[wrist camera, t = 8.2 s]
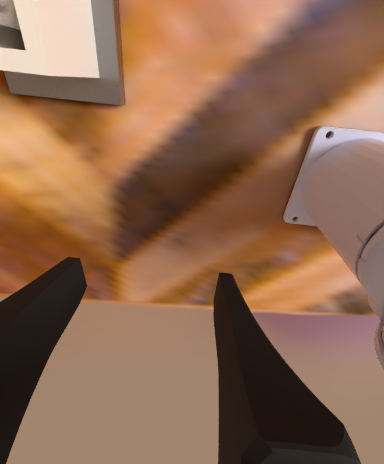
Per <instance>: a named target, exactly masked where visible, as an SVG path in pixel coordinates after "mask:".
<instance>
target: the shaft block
mask: <svg viewBox="0 0 384 464" xmlns="http://www.w3.org/2000/svg"><path fill="white" fill-rule="evenodd" d="M91 7H92V16H93V25H94V34H95V43H96V52H97V61H98V70H99V78H89V77H65V76H47V75H38V74H30V73H21V72H12V71H4V74H5V77H6V80H7V83H8V87H9V90H10V93H12V94H22V95H31V96H40V97H49V98H59V99H68V100H77V101H86V102H96V103H105V104H114V105H124V104H125V91H124V76H123V61H122V46H121V31H120V16H119V1H118V0H91ZM0 25H4V26H7V27H11V28H14V29H18V30H21V29H20V25H19V21H18V17H17V13H16V9H15V5H14V1H13V0H0Z"/></svg>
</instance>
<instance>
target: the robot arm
mask: <svg viewBox="0 0 384 464" xmlns="http://www.w3.org/2000/svg"><path fill="white" fill-rule="evenodd" d="M329 131H331V135H330V136H329V137H328V138H326V134H327V133H328V132H329ZM294 217H297V218H296V219H293V218H294ZM283 220H284V221H285V222H286V223H291V224H301V225H311V226H317V227H318V228H319V230H320V231H321V232H322V233H323V235H324V236H325V237H326V239H327V240H328V241H329V243H330V244H331V245H332V246H333V248H334V249H335V250H336V252H337V253H338V254H339V256H340V257H341V258H342V259H343V261H344V262H345V263H346V265H347V266H348V267H349V268H350V270H351V271H352V272H353V274H354V275H355V276H356V278H357V279H358V280H359V281H360V283H361V284H362V286H363V287H364V288H365V290H366V291H367V292H368V294H369V299H368V304H369V305H370V306H371V308H372V309H373V310H374V312H375V313H376V314H377V316H378V317H379V319H380V320H381V322H380V323H379V325H378V327H377V329H376V331H375V338H374V341H375V350H376V353H377V356H378V359H379V361H380V363H381V365H382V367H383V369H384V132H375V131H366V130H357V129H348V128H339V127H329V126H320V127H318V128H317V129H316V130H315V132H314V134H313V137H312V139H311V142H310V145H309V147H308V150H307V153H306V156H305V158H304V161H303V164H302V166H301V169H300V172H299V175H298V177H297V180H296V183H295V185H294V188H293V191H292V194H291V196H290V199H289V202H288V204H287V207H286V210H285V213H284V215H283ZM86 287H87V284H86V280H85V276H84V272H83V268H82V264H81V260H80V258H72V257H68V258H66V259H64V260H63V261H61V262H60V263H59V264H57V265H56V266H54V267H53V268H51V269H50V270H49V271H47V272H46V273H44V274H43V275H41V276H40V277H38V278H37V279H35V280H34V281H32V282H31V283H29V284H28V285H26V286H25V287H23V288H22V289H20V290H19V291H17V292H15V293H14V294H12V295H11V296H9V297H7V298H6V299H4V300H3V301H1V302H0V464H6V462H7V459H8V456H9V453H10V451H11V448H12V445H13V442H14V440H15V437H16V435H17V432H18V429H19V426H20V424H21V421H22V419H23V416H24V414H25V411H26V409H27V406H28V404H29V402H30V399H31V396H32V394H33V392H34V390H35V388H36V385H37V383H38V381H39V378H40V376H41V374H42V372H43V370H44V367H45V365H46V363H47V361H48V359H49V357H50V355H51V353H52V351H53V349H54V347H55V345H56V343H57V342H58V340H59V339H60V337H61V335H62V333H63V332H64V330H65V328H66V326H67V325H68V323H69V321H70V320H71V318H72V316H73V314H74V313H75V311H76V309H77V307H78V306H79V304H80V302H81V299H82V297H83V295H84V292H85V290H86ZM214 327H215V337H216V347H217V357H218V369H219V370H218V371H219V454H218V455H219V456H218V458H219V459H218V464H361V462H360V460H359V458H358V455H357V453H356V450H355V448H354V445H353V443H352V441H351V439H350V437H349V435H348V433H347V431H346V429H345V427H344V425H343V423H342V422H341V421H340V420H339V419H338V418H337V417H336V416H334V414H332V412H331V411H329V409H328V408H327V407H325V405H324V404H323V403H321V401H320V400H319V399H318V398H317V397H316V396H315V395H314V394H313V393H312V392H311V391H310V390H309V389H308V387H307V386H306V385H305V384H304V383H303V382H302V381H301V380H300V378H299V377H298V376H297V375H296V374H295V373H294V371H293V370H292V369H291V368H290V367H289V366H288V364H287V363H286V362H285V361H284V359H283V358H282V357H281V356H280V354H279V353H278V352H277V350H276V349H275V348H274V346H273V345H272V344H271V342H270V341H269V340H268V338H267V337H266V335H265V334H264V332H263V331H262V329H261V328H260V326H259V324H258V323H257V321H256V320H255V318H254V316H253V315H252V313H251V311H250V309H249V308H248V306H247V304H246V302H245V300H244V298H243V296H242V294H241V292H240V290H239V288H238V286H237V284H236V282H235V279H234V277H233V275H232V274H228V273H219V278H218V282H217V287H216V291H215V296H214Z"/></svg>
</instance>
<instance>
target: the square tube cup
mask: <svg viewBox="0 0 384 464" xmlns="http://www.w3.org/2000/svg"><path fill="white" fill-rule="evenodd" d="M13 1H14V5H15V9H16V13H17V17H18V21H19V25H20V29H21V30H18V29H14V28H11V27H7V26H4V25H0V70H4V71H12V72H21V73H30V74H38V75H47V76H65V77H89V78H99V70H98V61H97V52H96V43H95V34H94V25H93V16H92V7H91V0H13Z"/></svg>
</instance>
